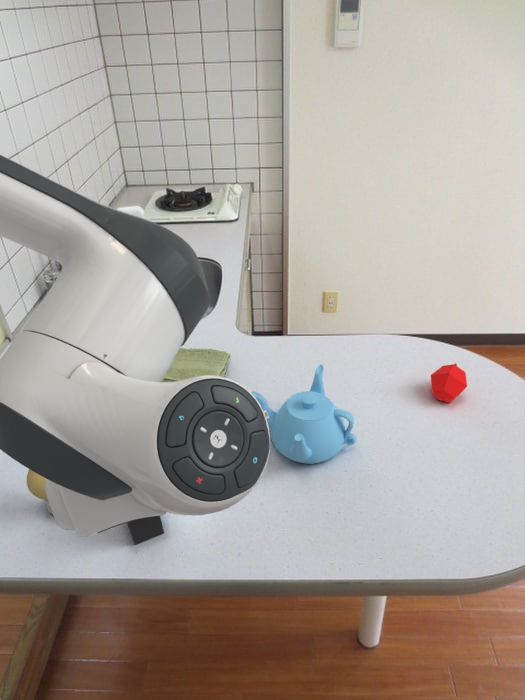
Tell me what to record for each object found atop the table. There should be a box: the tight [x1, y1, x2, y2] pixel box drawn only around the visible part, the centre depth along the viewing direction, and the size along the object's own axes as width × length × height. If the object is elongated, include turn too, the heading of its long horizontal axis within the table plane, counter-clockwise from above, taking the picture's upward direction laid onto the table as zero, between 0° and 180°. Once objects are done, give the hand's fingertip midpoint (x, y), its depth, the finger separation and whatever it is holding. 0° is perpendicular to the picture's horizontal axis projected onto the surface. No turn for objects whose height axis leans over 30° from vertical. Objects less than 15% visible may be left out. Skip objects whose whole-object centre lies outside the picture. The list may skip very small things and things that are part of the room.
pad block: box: [127, 515, 165, 546], centre depth 77 cm, size 4×4×9 cm
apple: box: [430, 363, 468, 404], centre depth 101 cm, size 7×7×8 cm
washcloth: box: [162, 347, 232, 382], centre depth 110 cm, size 13×18×3 cm
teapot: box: [250, 364, 357, 465], centre depth 90 cm, size 15×15×10 cm
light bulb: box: [26, 469, 53, 515], centre depth 80 cm, size 6×6×10 cm
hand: (147, 464), depth 56 cm, fingers open, 8 cm apart
